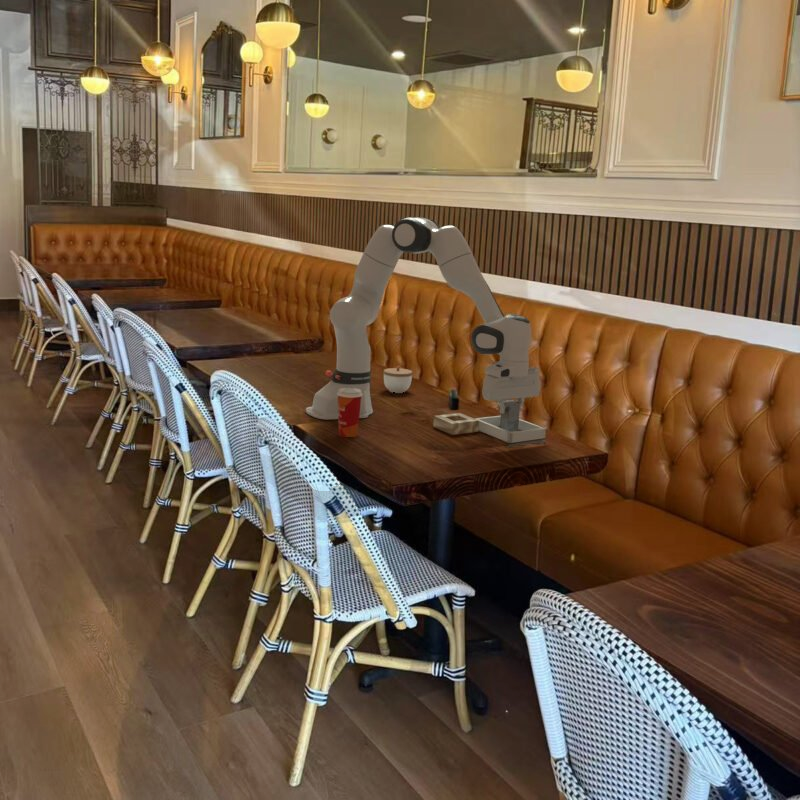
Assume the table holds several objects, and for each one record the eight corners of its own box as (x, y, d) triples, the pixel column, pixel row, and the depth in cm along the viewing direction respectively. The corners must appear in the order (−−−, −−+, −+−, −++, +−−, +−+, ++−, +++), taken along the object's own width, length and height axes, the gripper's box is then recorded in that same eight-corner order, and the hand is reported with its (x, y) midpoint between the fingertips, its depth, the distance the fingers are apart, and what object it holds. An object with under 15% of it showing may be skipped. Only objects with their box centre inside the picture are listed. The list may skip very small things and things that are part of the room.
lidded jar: (399, 395, 319) (401, 370, 317) (376, 390, 325) (377, 366, 323) (417, 391, 327) (418, 367, 325) (394, 386, 333) (395, 362, 331)
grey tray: (508, 447, 260) (510, 433, 259) (472, 432, 274) (473, 418, 273) (544, 442, 267) (545, 428, 266) (507, 428, 282) (508, 414, 281)
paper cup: (335, 431, 268) (336, 386, 264) (360, 432, 268) (362, 387, 265) (335, 438, 260) (337, 392, 257) (361, 439, 261) (363, 393, 258)
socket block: (451, 439, 265) (452, 423, 264) (433, 431, 274) (433, 415, 272) (477, 436, 271) (478, 420, 269) (458, 428, 279) (459, 412, 278)
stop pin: (507, 432, 267) (510, 403, 265) (499, 428, 271) (501, 400, 269) (517, 430, 270) (520, 402, 267) (509, 427, 273) (512, 399, 271)
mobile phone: (460, 397, 300) (456, 387, 315) (451, 397, 300) (448, 386, 315) (459, 411, 302) (455, 400, 316) (450, 411, 301) (447, 400, 316)
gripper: (533, 364, 274) (529, 407, 277) (481, 368, 263) (477, 412, 266) (546, 368, 269) (542, 411, 272) (494, 372, 258) (490, 417, 261)
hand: (510, 412), depth 269 cm, fingers closed on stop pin, 4 cm apart
